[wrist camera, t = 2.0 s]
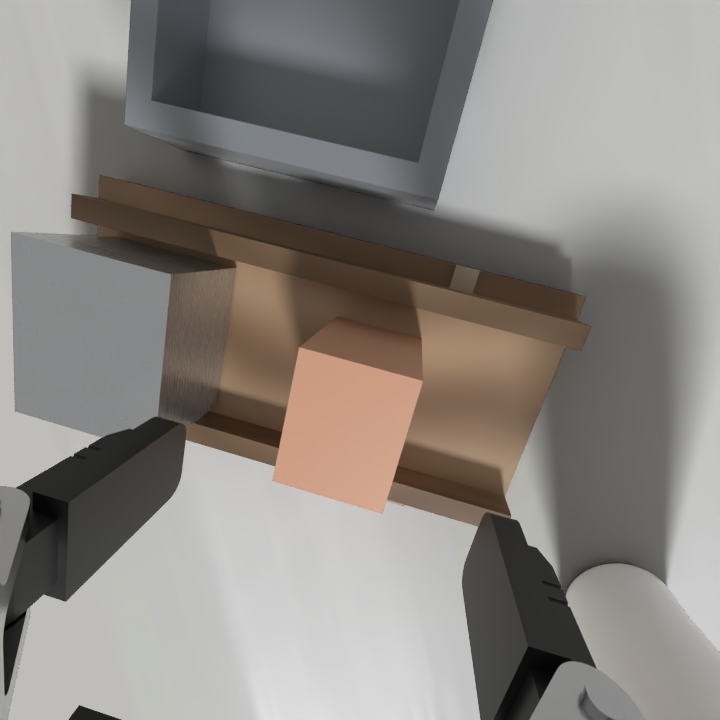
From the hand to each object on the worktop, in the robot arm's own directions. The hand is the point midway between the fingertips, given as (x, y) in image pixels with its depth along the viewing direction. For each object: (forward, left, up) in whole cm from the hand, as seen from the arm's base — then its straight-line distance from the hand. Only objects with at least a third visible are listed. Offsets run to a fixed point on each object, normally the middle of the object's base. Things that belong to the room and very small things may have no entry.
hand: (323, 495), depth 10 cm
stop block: (0, 0, -9) cm, 9 cm away
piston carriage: (0, -10, -9) cm, 13 cm away
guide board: (0, -3, -11) cm, 11 cm away
